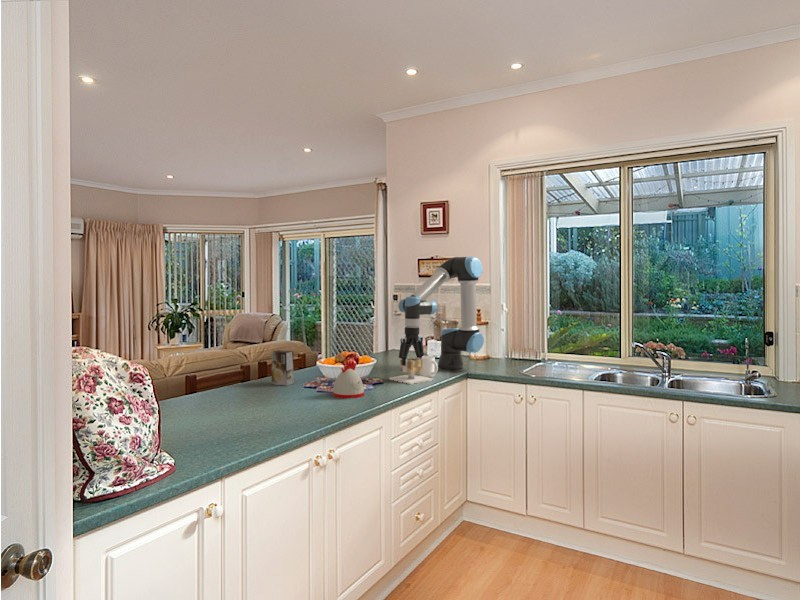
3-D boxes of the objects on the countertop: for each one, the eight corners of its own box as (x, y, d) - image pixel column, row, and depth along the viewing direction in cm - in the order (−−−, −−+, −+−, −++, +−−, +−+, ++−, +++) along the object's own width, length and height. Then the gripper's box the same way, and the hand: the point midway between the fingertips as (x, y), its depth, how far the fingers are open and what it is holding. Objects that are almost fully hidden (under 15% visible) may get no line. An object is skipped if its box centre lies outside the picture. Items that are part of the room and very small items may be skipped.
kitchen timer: (370, 395, 232) (370, 361, 232) (347, 400, 222) (347, 365, 222) (349, 390, 242) (349, 358, 241) (326, 395, 232) (326, 361, 231)
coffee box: (294, 383, 255) (294, 351, 254) (286, 386, 249) (286, 352, 248) (278, 381, 259) (278, 349, 258) (270, 384, 253) (270, 351, 252)
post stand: (411, 375, 279) (412, 357, 278) (433, 380, 267) (433, 361, 266) (389, 379, 268) (389, 360, 268) (410, 384, 256) (410, 364, 256)
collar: (411, 369, 273) (411, 358, 273) (422, 371, 267) (422, 360, 267) (400, 371, 267) (400, 359, 267) (410, 373, 262) (411, 361, 261)
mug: (442, 377, 276) (443, 358, 275) (431, 379, 270) (431, 359, 270) (426, 374, 285) (427, 355, 284) (415, 375, 279) (416, 356, 279)
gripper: (421, 325, 276) (420, 367, 277) (391, 327, 262) (391, 372, 263) (431, 326, 270) (430, 369, 271) (401, 328, 256) (401, 374, 257)
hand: (411, 370), depth 267 cm, fingers closed on collar, 8 cm apart
